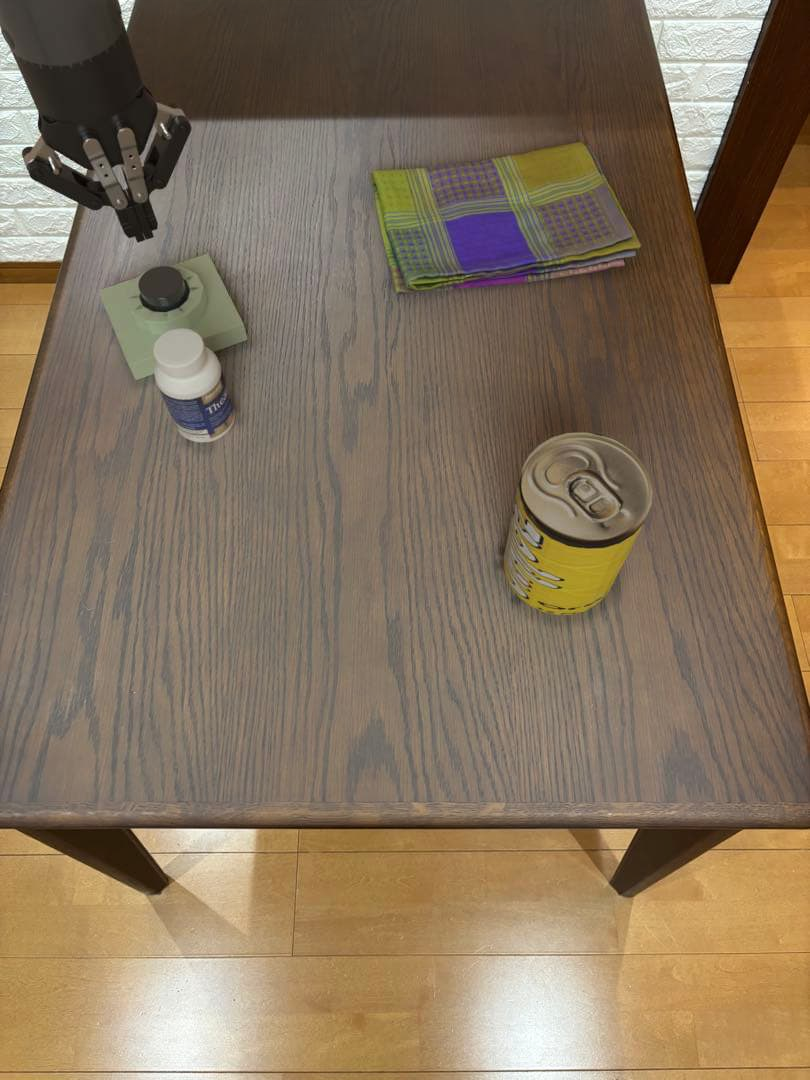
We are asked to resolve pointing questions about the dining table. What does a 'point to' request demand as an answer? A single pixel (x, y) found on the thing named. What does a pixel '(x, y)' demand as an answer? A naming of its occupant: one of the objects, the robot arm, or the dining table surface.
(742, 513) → the dining table surface
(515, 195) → the dish towel
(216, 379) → the pill bottle
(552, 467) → the beverage can
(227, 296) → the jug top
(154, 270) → the lid button
